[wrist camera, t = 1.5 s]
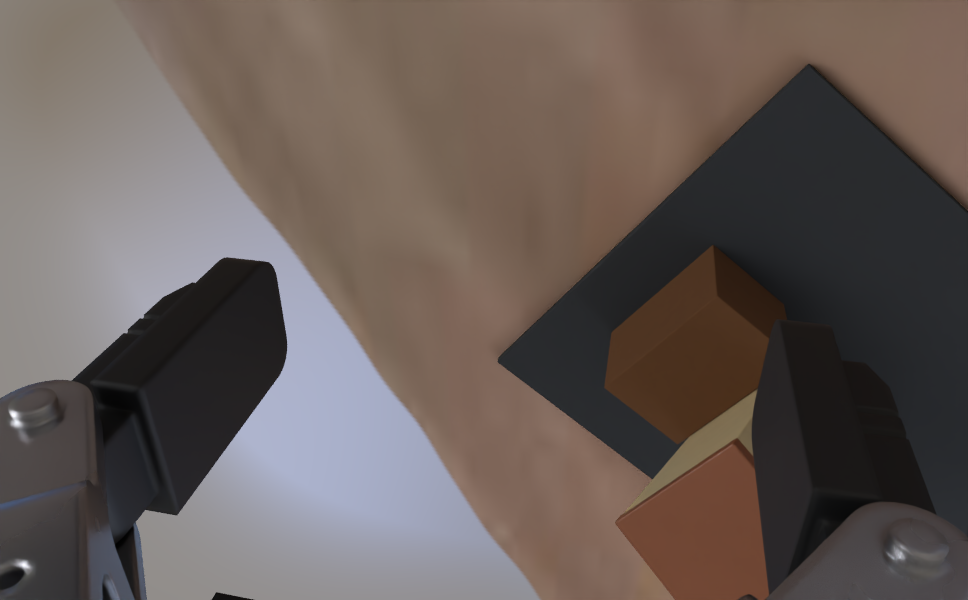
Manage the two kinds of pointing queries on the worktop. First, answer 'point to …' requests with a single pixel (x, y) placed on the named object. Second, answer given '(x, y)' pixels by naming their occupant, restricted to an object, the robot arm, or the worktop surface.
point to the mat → (772, 290)
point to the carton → (704, 514)
